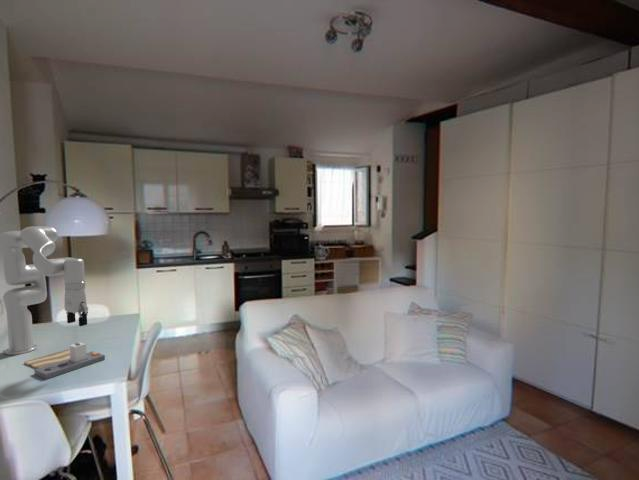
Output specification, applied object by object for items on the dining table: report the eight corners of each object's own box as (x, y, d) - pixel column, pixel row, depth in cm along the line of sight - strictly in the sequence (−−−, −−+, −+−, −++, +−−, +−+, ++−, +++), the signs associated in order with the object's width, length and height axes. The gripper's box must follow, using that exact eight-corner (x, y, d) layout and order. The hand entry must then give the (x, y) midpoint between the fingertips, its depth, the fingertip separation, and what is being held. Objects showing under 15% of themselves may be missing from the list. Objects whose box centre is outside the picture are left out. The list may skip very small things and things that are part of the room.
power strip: (34, 374, 156) (34, 368, 156) (92, 355, 177) (92, 350, 177) (46, 379, 151) (46, 373, 151) (104, 359, 172) (104, 354, 172)
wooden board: (24, 363, 167) (24, 361, 167) (67, 350, 183) (67, 349, 182) (39, 370, 160) (39, 368, 160) (82, 356, 176) (82, 354, 176)
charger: (70, 364, 166) (69, 344, 165) (81, 361, 170) (80, 341, 169) (75, 367, 163) (74, 345, 163) (86, 363, 167) (85, 342, 167)
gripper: (55, 286, 165) (58, 323, 166) (76, 289, 156) (78, 328, 158) (73, 283, 172) (75, 319, 173) (94, 286, 163) (96, 324, 164)
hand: (77, 323), depth 165 cm, fingers open, 9 cm apart
